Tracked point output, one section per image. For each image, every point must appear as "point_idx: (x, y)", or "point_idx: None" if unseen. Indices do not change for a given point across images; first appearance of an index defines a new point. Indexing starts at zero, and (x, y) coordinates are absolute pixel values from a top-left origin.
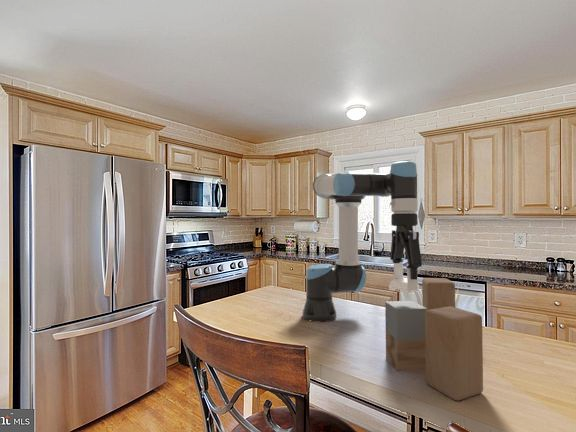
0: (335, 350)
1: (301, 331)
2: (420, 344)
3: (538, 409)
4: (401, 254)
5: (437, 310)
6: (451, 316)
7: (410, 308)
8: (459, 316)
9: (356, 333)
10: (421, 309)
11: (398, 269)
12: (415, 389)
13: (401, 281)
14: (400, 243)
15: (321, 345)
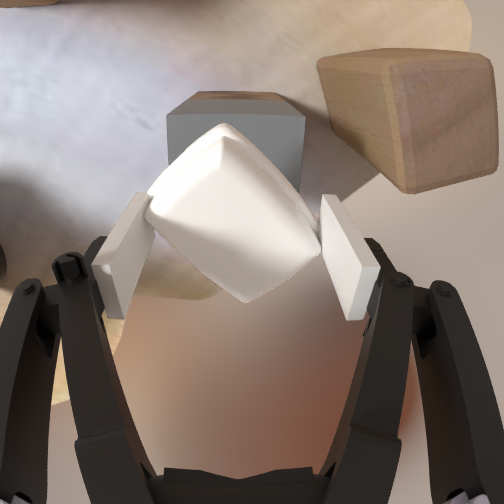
0: (152, 258)
1: None
2: None
3: (437, 10)
4: (100, 336)
5: (432, 164)
6: (484, 166)
7: (291, 182)
8: (491, 143)
9: (50, 190)
10: (302, 139)
11: (130, 266)
12: (346, 163)
13: (283, 272)
14: (152, 473)
15: None
